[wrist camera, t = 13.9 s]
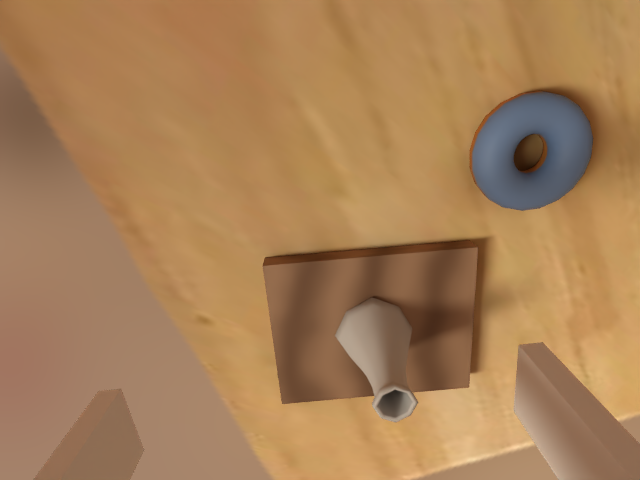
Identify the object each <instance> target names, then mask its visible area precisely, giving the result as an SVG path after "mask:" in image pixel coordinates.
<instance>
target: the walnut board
mask: <svg viewBox="0 0 640 480" xmlns="http://www.w3.org/2000/svg"><path fill="white" fill-rule="evenodd" d="M477 257H478V247H477V246H476V245H475V244H473V243H472V242H471V241H470V240H466V241H454V242H443V243H431V244H419V245H408V246H396V247H385V248H373V249H361V250H350V251H338V252H327V253H315V254H303V255H292V256H280V257H269V258H265V259H264V263H263V272H264V279H265V286H266V293H267V300H268V307H269V315H270V322H271V329H272V336H273V343H274V350H275V357H276V364H277V371H278V378H279V386H280V393H281V400H282V404H288V403H299V402H310V401H321V400H333V399H344V398H355V397H367V396H374V392H373V389H372V386H371V384H370V382H369V380H368V378H367V376H366V375H365V374H364V372H363V371H362V370H361V369H360V368H359V367H358V366H357V364H356V363H355V362H354V361H353V360H352V359H351V357H350V356H349V355H348V353H347V352H346V351H345V349H344V348H343V346H342V345H341V344H340V342H339V341H338V339H337V338H336V337H335V334H336V332H337V330H338V328H339V326H340V324H341V322H342V319H343V317H344V315H345V313H346V312H347V311H348V310H350V309H352V308H354V307H356V306H357V305H359V304H361V303H363V302H365V301H366V300H368V299H370V298H375V299H378V300H381V301H384V302H387V303H390V304H393V305H396V306H398V307H399V308H400V309H401V311H402V312H403V314H404V316H405V317H406V319H407V321H408V322H409V324H410V325H411V327H412V334H411V339H410V344H409V349H408V356H407V364H406V376H407V385H408V387H409V389H410V390H411V391H412V392H423V391H434V390H446V389H457V388H468V387H469V381H470V365H471V350H472V334H473V319H474V303H475V288H476V272H477Z"/></svg>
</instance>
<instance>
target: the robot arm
mask: <svg viewBox="0 0 640 480" xmlns="http://www.w3.org/2000/svg"><path fill="white" fill-rule="evenodd" d="M514 412H515V414H516V415H517V417H518V418H519V420H520V421H521V423H522V425H523V426H524V428H525V429H526V431H527V432H528V434H529V435H530V437H531V438H532V440H533V441H534V443H535V445H536V446H537V448H538V449H539V451H540V452H541V454H542V455H543V457H544V458H545V460H546V461H547V463H548V464H549V466H550V468H551V469H552V471H553V472H554V474H555V475H556V477H557V478H558V480H640V444H639V443H638V442H637V441H636V440H635V439H634V437H633V436H632V435H631V434H630V433H629V432H628V431H627V430H626V429H625V428H624V427H623V426H622V425H621V424H620V423H619V422H618V421H617V420H616V419H615V418H614V417H613V416H612V414H611V413H610V412H609V411H608V410H607V409H606V408H605V407H604V406H603V405H602V404H601V403H600V402H599V401H598V400H597V399H596V398H595V397H594V396H593V395H592V394H591V393H590V391H589V390H588V389H587V388H586V387H585V386H584V385H583V384H582V383H581V382H580V381H579V380H578V379H577V378H576V377H575V376H574V375H573V374H572V373H571V372H570V371H569V370H568V368H567V367H566V366H565V365H564V364H563V363H562V362H561V361H560V360H559V359H558V358H557V357H556V356H555V355H554V354H553V353H552V352H551V351H550V350H549V349H548V348H547V346H546V345H545V344H544V343H543V342H541V343H532V344H523V345H519V348H518V361H517V374H516V387H515V399H514ZM143 451H144V448H143V446H142V443H141V441H140V438H139V435H138V432H137V430H136V427H135V424H134V422H133V419H132V416H131V414H130V411H129V408H128V406H127V403H126V401H125V398H124V395H123V392H122V390H121V389H114V390H105V391H98V392H97V394H96V395H95V397H94V398H93V399H92V401H91V402H90V403H89V405H88V406H87V408H86V409H85V410H84V412H83V413H82V414H81V416H80V417H79V418H78V420H77V421H76V423H75V424H74V425H73V427H72V428H71V429H70V430H69V432H68V433H67V435H66V436H65V438H64V439H63V440H62V441H61V443H60V444H59V445H58V447H57V448H56V450H55V451H54V452H53V454H52V455H51V456H50V458H49V459H48V460H47V462H46V463H45V465H44V466H43V467H42V469H41V470H40V471H39V473H38V474H37V475H36V477H35V478H34V480H130V479H131V476H132V474H133V472H134V470H135V468H136V466H137V464H138V462H139V460H140V458H141V456H142V454H143Z"/></svg>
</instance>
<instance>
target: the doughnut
mask: <svg viewBox="0 0 640 480" xmlns="http://www.w3.org/2000/svg"><path fill="white" fill-rule="evenodd" d="M531 134H538V135H539V136H540V138H541V139H542V141H543V153H542V155H541V158H540V160H539V161H538V162H537V164H536V165H535V166H534V167H532V168H531V169H528V170H526V171H519V170H518V169H517V168H516V167H515V164H514V153H515V150H516V147H517V145H518V144H519V143H520V141H521V140H522V139H524V138H525V137H526V136H528V135H531ZM592 145H593V135H592V131H591V126H590V122H589V120H588V119H587V117H586V116H585V114H584V113H583V111H582V110H581V108H580V107H579V105H577V104H576V103H574V102H573V101H571V100H570V99H568V98H567V97H565V96H563V95H558V94H553V93H549V92H544V91H535V92H528V93H521V94H518V95H516V96H514V97H512V98H510V99H508V100H506V101H504V102H502V103H500V104H499V105H498V106H497V107H495V108H494V109H493V110H492V111H491V112H490V113H489V114H488V115H486V117H485V118H484V120H483V121H482V123H481V124H480V126H479V127H478V129H477V130H476V132H475V135H474V138H473V141H472V145H471V148H470V170H471V173H472V176H473V179H474V182H475V184H476V185H477V186H478V187H479V189H480V190H481V191H482V192H483V194H484V195H485V196H486V197H487V198H488V199H490V200H491V201H493V202H495V203H496V204H498V205H500V206H502V207H505V208H510V209H516V210H522V211H523V210H530V209H537V208H541V207H543V206H546V205H548V204H550V203H553V202H555V201H557V200H559V199H560V198H561V197H563V196H564V195H565V194H566V193H568V192H569V191H570V190H571V189H573V188H574V186H575V185H576V184H577V182H578V181H579V180H580V178H581V177H582V176H583V174H584V173H585V170H586V168H587V165H588V163H589V161H590V158H591V154H592Z"/></svg>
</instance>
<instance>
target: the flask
mask: <svg viewBox="0 0 640 480" xmlns="http://www.w3.org/2000/svg"><path fill="white" fill-rule="evenodd" d="M411 334H412V327H411V325H410V324H409V322H408V321H407V319H406V317H405V316H404V314H403V312H402V311H401V309H400V308H399V307H398V306H396V305H393V304H390V303H387V302H384V301H381V300H378V299H375V298H370V299H368V300H366V301H365V302H363V303H361V304H359V305H357V306H356V307H354V308H352V309H350V310H348V311H347V312H346V313H345V315H344V317H343V319H342V322H341V324H340V326H339V328H338V330H337V332H336V334H335V337H336V338H337V339H338V341H339V342H340V344H341V345H342V346H343V348H344V349H345V351H346V352H347V353H348V355H349V356H350V357H351V359H352V360H353V361H354V362H355V363H356V364H357V366H358V367H359V368H360V369H361V370H362V371H363V372H364V374H365V375H366V376H367V378H368V380H369V382H370V384H371V386H372V389H373V392H374V396H375V398H374V400H373V402H372V406H373V408H374V409H375V411H376V412H377V413H378V415H379V416H380V417H381V418H382V419H386V420H389V421H393V422H398V421H400V420H402V419H404V418H406V417H408V416H410V415H411V414H412V412H413V410H414V409H415V407H416V405H417V404H418V401H417V399H416V397H415V396H414V394H413V393H412V391H411V390H410V389H409V387H408V385H407V376H406V364H407V356H408V349H409V344H410V339H411Z"/></svg>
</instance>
